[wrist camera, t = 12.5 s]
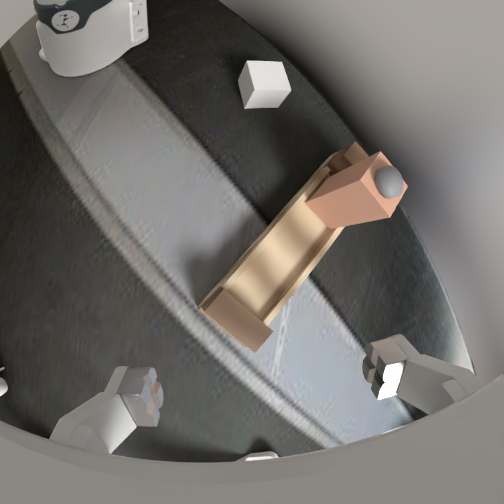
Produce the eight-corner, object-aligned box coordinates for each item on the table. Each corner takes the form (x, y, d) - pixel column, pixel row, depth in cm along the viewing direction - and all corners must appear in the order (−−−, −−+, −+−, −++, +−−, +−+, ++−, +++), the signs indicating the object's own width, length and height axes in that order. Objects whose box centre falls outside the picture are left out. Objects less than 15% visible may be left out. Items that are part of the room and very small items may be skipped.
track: (241, 342, 33) (258, 361, 26) (197, 306, 32) (203, 318, 25) (360, 191, 39) (392, 180, 32) (329, 156, 37) (357, 138, 31)
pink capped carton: (330, 229, 34) (397, 215, 23) (305, 202, 33) (366, 177, 22) (348, 204, 35) (414, 184, 24) (325, 178, 34) (387, 148, 23)
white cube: (244, 108, 34) (254, 89, 29) (237, 81, 34) (246, 60, 29) (277, 108, 36) (291, 90, 31) (270, 81, 35) (281, 61, 31)
